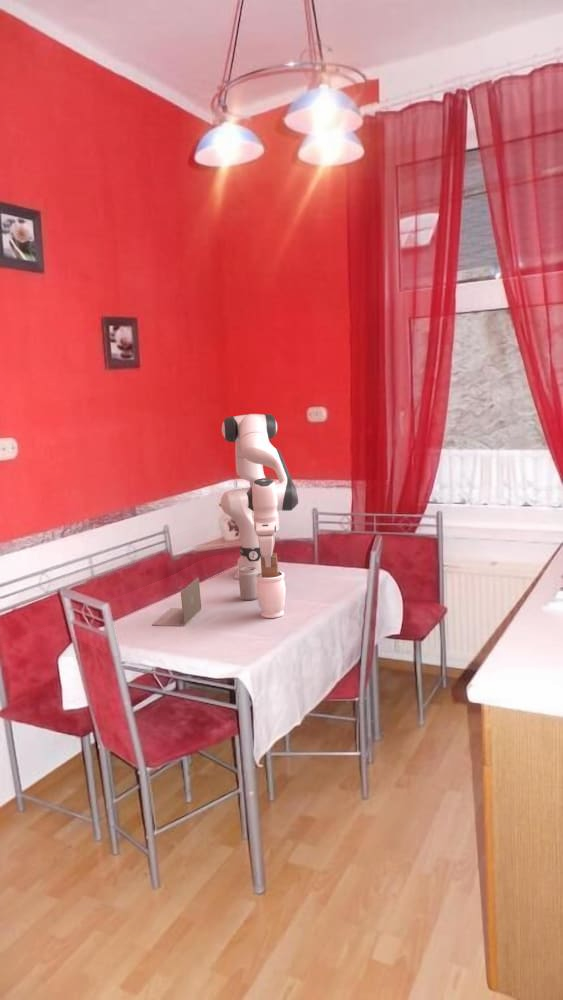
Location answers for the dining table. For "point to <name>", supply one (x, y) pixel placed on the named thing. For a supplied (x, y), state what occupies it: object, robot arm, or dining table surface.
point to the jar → (271, 595)
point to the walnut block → (270, 570)
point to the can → (248, 583)
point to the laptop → (183, 607)
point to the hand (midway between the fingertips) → (269, 563)
